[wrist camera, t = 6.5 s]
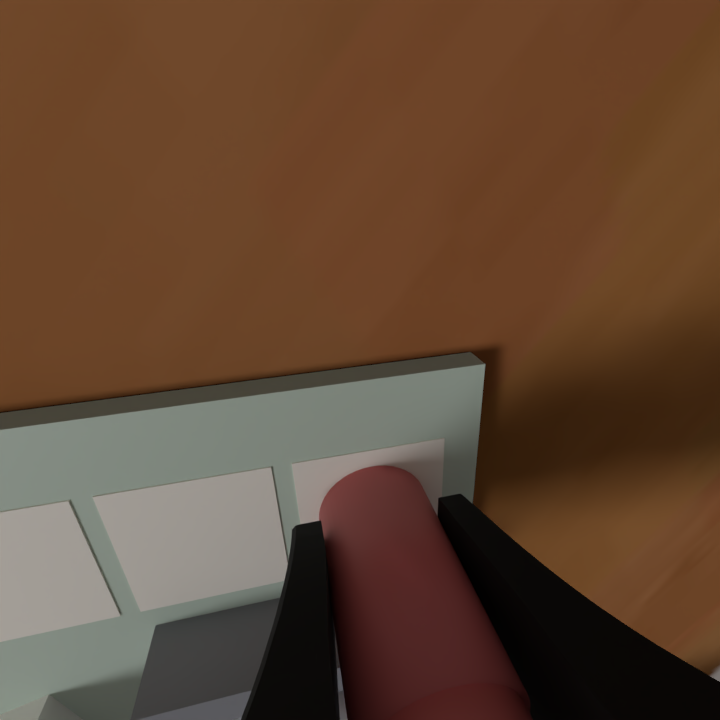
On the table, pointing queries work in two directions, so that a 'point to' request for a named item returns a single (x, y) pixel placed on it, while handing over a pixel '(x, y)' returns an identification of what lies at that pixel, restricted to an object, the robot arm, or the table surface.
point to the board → (195, 524)
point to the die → (41, 711)
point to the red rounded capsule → (409, 609)
